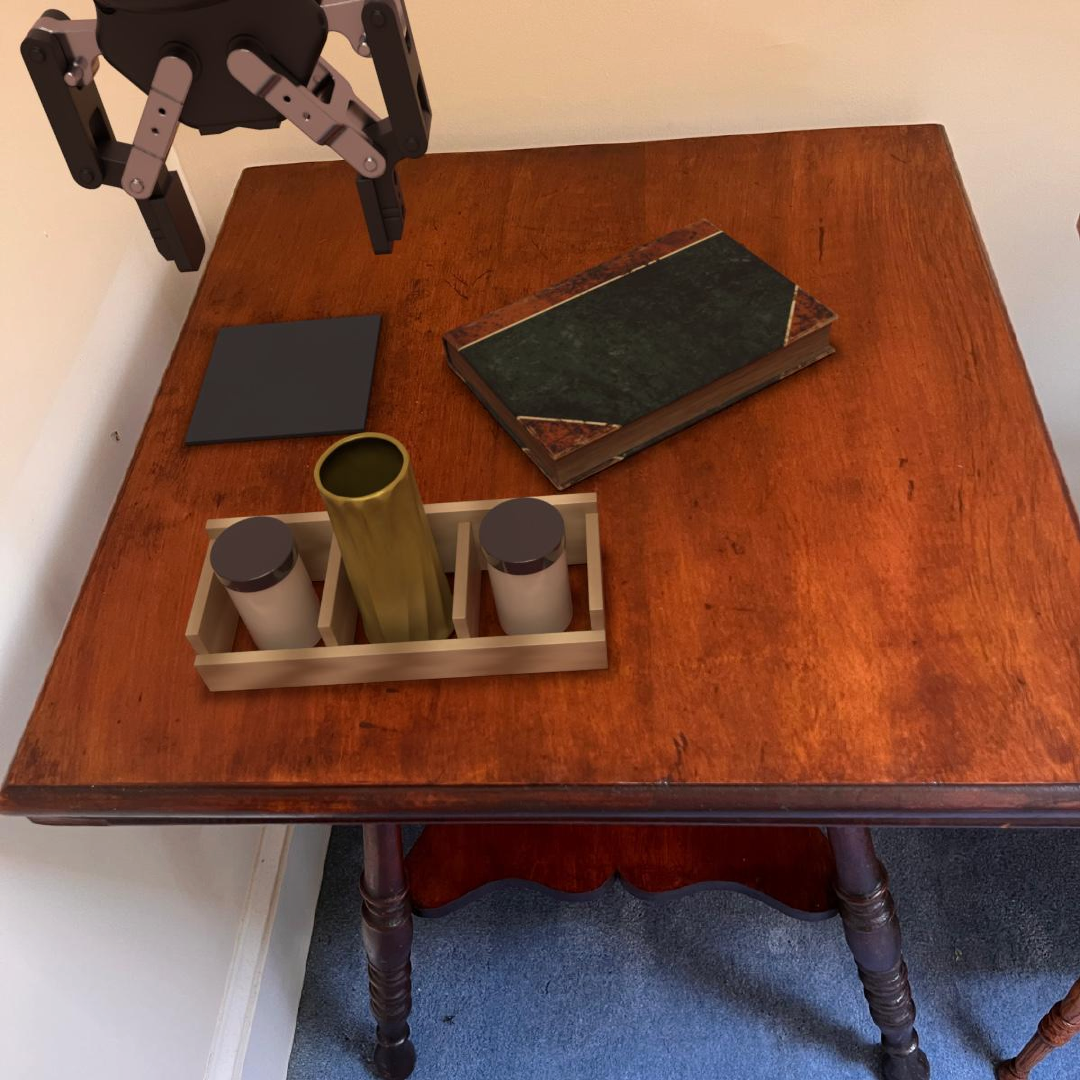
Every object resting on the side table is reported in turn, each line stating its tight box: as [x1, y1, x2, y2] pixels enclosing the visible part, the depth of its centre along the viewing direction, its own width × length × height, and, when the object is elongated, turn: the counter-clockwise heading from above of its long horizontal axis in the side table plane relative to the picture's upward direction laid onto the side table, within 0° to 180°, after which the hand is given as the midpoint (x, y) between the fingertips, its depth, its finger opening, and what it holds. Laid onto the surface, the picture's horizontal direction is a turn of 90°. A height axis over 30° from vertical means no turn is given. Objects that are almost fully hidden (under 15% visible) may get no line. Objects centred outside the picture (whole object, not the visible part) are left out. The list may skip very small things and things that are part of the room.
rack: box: [184, 491, 609, 692], centre depth 64 cm, size 25×9×6 cm, turn 90°
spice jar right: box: [479, 496, 574, 636], centre depth 63 cm, size 5×5×8 cm
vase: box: [313, 431, 455, 644], centre depth 61 cm, size 6×6×14 cm
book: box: [441, 217, 840, 492], centre depth 80 cm, size 17×4×25 cm
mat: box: [184, 313, 383, 446], centre depth 83 cm, size 14×14×1 cm
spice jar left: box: [210, 515, 323, 651], centre depth 64 cm, size 5×5×8 cm
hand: (288, 253), depth 45 cm, fingers open, 8 cm apart
